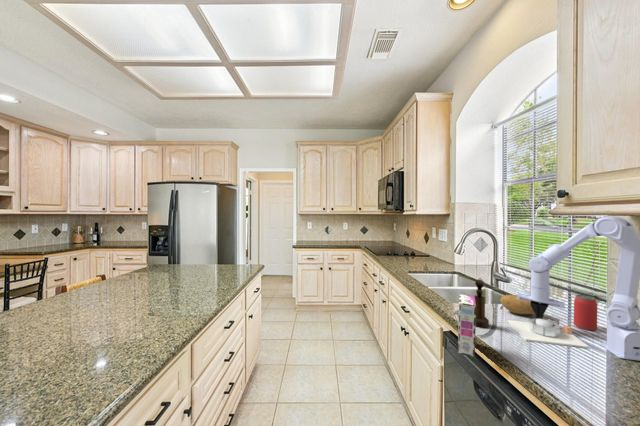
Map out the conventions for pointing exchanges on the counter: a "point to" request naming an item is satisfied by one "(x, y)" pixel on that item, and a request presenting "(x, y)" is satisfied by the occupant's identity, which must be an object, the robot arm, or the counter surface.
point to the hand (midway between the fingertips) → (539, 321)
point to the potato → (516, 305)
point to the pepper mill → (480, 306)
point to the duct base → (563, 339)
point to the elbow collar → (545, 327)
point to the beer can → (585, 312)
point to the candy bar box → (467, 325)
